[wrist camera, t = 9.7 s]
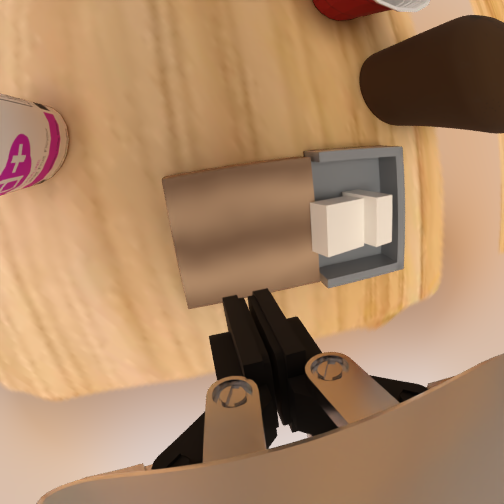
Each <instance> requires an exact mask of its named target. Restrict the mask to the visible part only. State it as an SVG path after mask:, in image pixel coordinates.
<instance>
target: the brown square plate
mask: <svg viewBox="0 0 504 504" xmlns="http://www.w3.org/2000/svg"><path fill="white" fill-rule="evenodd" d="M162 183H163V189H164V194H165V200H166V205H167V211H168V216H169V221H170V227H171V232H172V237H173V242H174V246H175V251H176V256H177V261H178V265H179V270H180V274H181V279H182V283H183V288H184V292H185V296H186V301H187V305H188V309H192V308H197V307H202V306H208V305H213V304H218V303H223V300H222V298H223V297H228V296H232V295H237V296H238V298H242V297H244V298H247V297H248V296H251V295H252V292H253V291H256V290H261V289H266V288H268V290H269V291H270V293H271V292H275V291H280V290H284V289H289V288H294V287H298V286H302V285H307V284H311V283H316V282H320V273H319V255H318V253H316V252H313V251H312V232H311V214H310V202H315V200H314V188H313V178H312V167H311V158H310V157H291V158H282V159H274V160H266V161H259V162H251V163H244V164H237V165H231V166H224V167H218V168H211V169H205V170H200V171H194V172H188V173H183V174H177V175H172V176H167V177H164V178H163V179H162Z"/></svg>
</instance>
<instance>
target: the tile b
mask: <svg viewBox="0 0 504 504" xmlns="http://www.w3.org/2000/svg"><path fill="white" fill-rule="evenodd" d="M342 195H343V196H352V197H358V198H364V243H365V244H368V245H372V246H375V247H378V246H381V245H384V244H387V243H390V242H392V195H390V194H385V193H379V192H372V191H366V190H360V189H357V190H351V191H345V192H342Z"/></svg>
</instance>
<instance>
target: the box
mask: <svg viewBox="0 0 504 504" xmlns="http://www.w3.org/2000/svg"><path fill="white" fill-rule="evenodd" d="M304 157H310V158H311V167H312V178H313V188H314V200H315V201H320V200H326V199H331V198H337V197H342V196H343V195H342V192H345V191H351V190H357V189H360V190H366V191H372V192H379V193H385V194H390V195H392V242H390V243H387V244H384V245H381V246H378V247H375V246H372V245H368V244H365V243H364V246H362V247H359V248H356V249H353V250H350V251H347V252H344V253H340V254H337V255H334V256H331V257H326V256H323V255H321V254H318V255H319V273H320V281H321V282H322V283H323V284H324V285H325V286H326V287H327V288H332V287H336V286H340V285H344V284H348V283H352V282H356V281H360V280H363V279H367V278H371V277H375V276H379V275H382V274H386V273H390V272H394V271H397V270H401V269H404V245H405V188H404V164H403V149H402V147H399V146H366V147H350V148H337V149H324V150H313V151H304Z"/></svg>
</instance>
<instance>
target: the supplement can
mask: <svg viewBox="0 0 504 504" xmlns="http://www.w3.org/2000/svg"><path fill="white" fill-rule="evenodd" d="M68 142H69V137H68V131H67V125H66V124H65V122H64V120H63V118H62V116H61V115H60V114H59V113H58V112H57V111H55V110H54V109H53V108H51V107H48V106H44V105H41V104H37V103H34V102H30V101H27V100H23V99H19V98H16V97H12V96H8V95H4V94H0V196H1V195H4V194H7V193H10V192H13V191H16V190H19V189H23V188H26V187H29V186H33V185H36V184H40V183H42V182H44V181H46V180H48V179H49V178H51V177H52V176H53V175H54V174H55V173H56V172H57V171H58V169H59V168H60V167H61V165H62V163H63V161H64V159H65V157H66V154H67V148H68Z"/></svg>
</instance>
